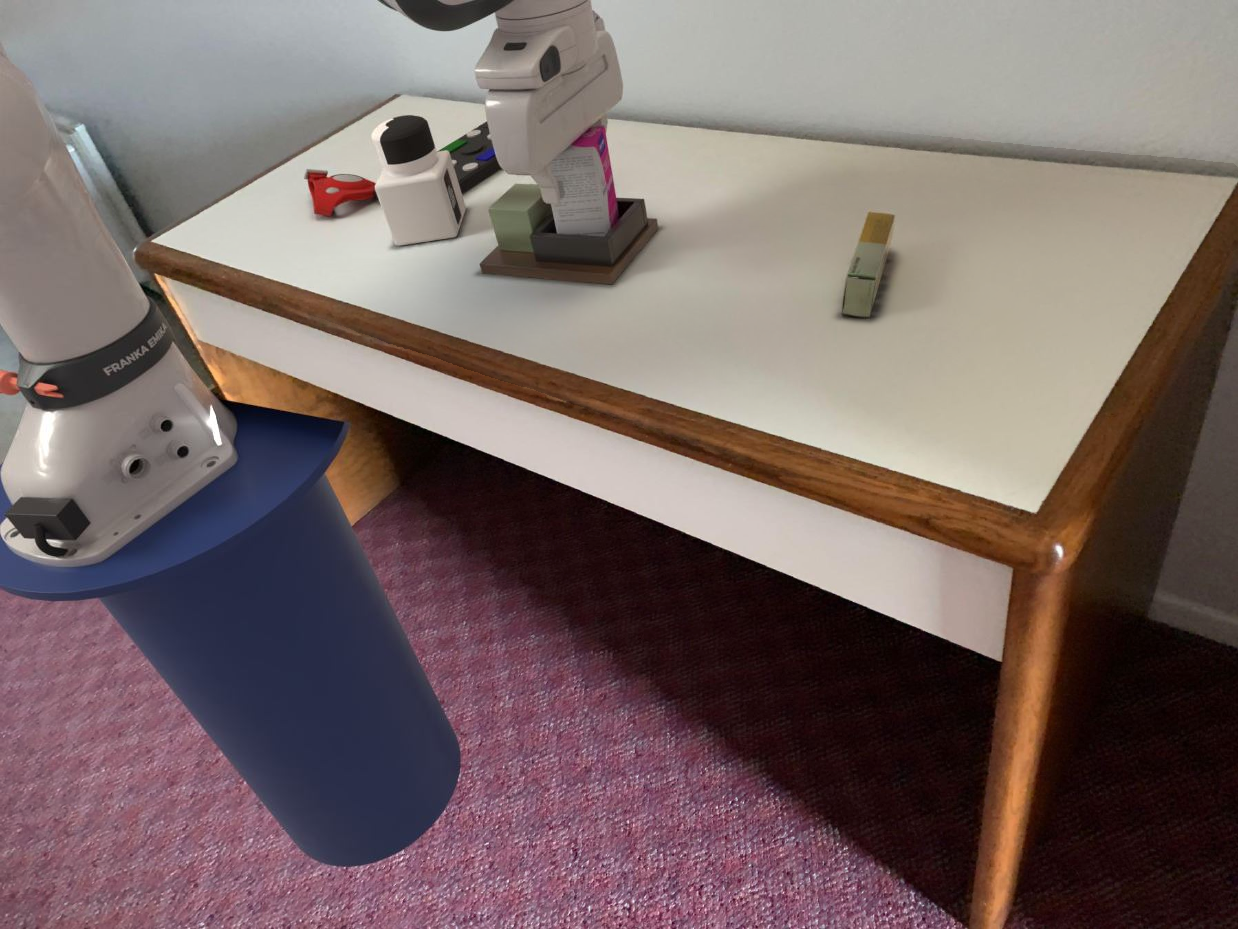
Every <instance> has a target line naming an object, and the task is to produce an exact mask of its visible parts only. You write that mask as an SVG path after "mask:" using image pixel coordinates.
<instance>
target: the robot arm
mask: <svg viewBox="0 0 1238 929" xmlns="http://www.w3.org/2000/svg"><path fill="white" fill-rule="evenodd" d="M377 1H378V2H379V3H381V4H382V5H384V6H385V7H387V8H388V9H390V10H393V11H394V12H397V13H400V14H401V15H402V16H403V17H405V18H407V19H408V20H410V21H411V22H413V23H415V24H416V25H418V26H420V27H422V28H425V29H428V30H431V31H437V32H453V31H457V30H460V29H461V30H462V29H464V28H466V27H468V26H470V25H472V24H475V23H477V22H480V21H481V20H484V19H485V18H487V17H489V16H491V15H493V14H494V16H495V22H496V26H497V28H495V29H494V30H493V33H492V35H491V38H490V40H489V42H488V44H487V46H486V48H485V49H484V51H483V53H482V54H481V56H480V57H479V59H478V60H477V62H476V63H475V65H474V66H475V67H474V76H475V80H476V84H477V86H478V87H479V89H481V90H488V91H487V92H486V95H485V99H484V110H485V111H484V112H485V117H486V121H487V123H488V127H489V131H490V136H491V140H492V144H493V147H494V151H495V154H496V158H497V161H498V163H499V165H500V167H501V169H502V170H503V171H504V172H505V173H506V174H507V175H511V176H528V177H529V176H530V177H531V179H532V180H533V181H534V183H535V184H537V185H538V186H539V187H540V189H541V194H542V198H543V201H544V202H545V203H548V204H557V203H558V202H559V201H560V200H561V199H562V198H563V197H564V196H565V191H564V190H563V188H564V187H563V182H562V181H557V180H556V178H555V177H554V175H553V173H552V171H553V170H554V163H553V160H554V159H555V158H556V157H557V156H558V155H559V154H560V153H562V152H563V151H564V150H565V149H566V148H567V147H568V146H570V145H571V144H572V143H573V142H574V141H575V140H576V139H577V138H579V137H580V136H581V135H582V134H583V133H584V132H585V131H587V130H588V129H589V128H591V127H605V131H606V132H608V124H609V122H608V116H607V113H609V111H611V110H612V109H613V108H615V106H616V105H618V104H619V103H620V102H621V101H622V99H623V94H624V81H623V75H622V71H621V67H620V62H619V58H618V54H617V49H616V46H615V43H614V39H613V37H612V35H611V34H610V32H608V31H607V30H606V26H605V21H604V19H603V17H600V15H599V14H598V13H597V12H596V11H595V10H594V9H593V6H592V0H377ZM0 326H1V328H3V330H4V332H5V333H6V335H7V336H8V338H9V339H10V341H11V342H12V344H13V345H14V347H16V349H17V350H18V363H19V368H18V372H13V371H8V370H4V369H0V394H4V395H6V396H15V395H17V394H19V393H21V395H22V396H23V397H24V398H25V400H26V402H27V404H26V406H25V409H24V412H23V414H22V417H21V420H20V422H19V425H18V427H17V430H16V432H15V435H14V436H13V440H12V442H11V443H10V447H9V450H8V451H7V454H6V456H5V459H4V460H3V462H4V463H3V462H2V463H3V465H2V467H1V480H2V484H3V487H4V489H5V492H6V494H7V496H8V498H9V500H10V502H11V504H12V506H11V507H10V508H9V509H8V510H7V512H6V513H5V514H4V515H5V516H6V517H7V518H6V519H5V520H4V521H3V522H2V524H1V525H0V534H1V537H2V539H3V540H4V542H5V543H6V545H7V546H8V548H9V549H10V550H11V551H13V552H14V553H15V554H17V555H18V556H20V557H22V558H24V559H27V560H30V561H32V562H35V563H39V564H43V565H47V566H53V567H81V566H87V565H92V564H96V563H100V562H102V561H104V560H105V559H107V558H108V557H110V556H111V555H113V554H114V553H115V552H117V551H118V550H119V549H121V548H122V547H124V546H125V545H126V544H128V543H129V542H130V541H132V540H133V539H134V538H136V537H137V536H139V535H140V534H141V533H143V532H144V531H145V530H147V529H148V528H149V527H151V526H152V525H154V524H155V523H156V522H158V521H159V520H160V519H162V518H163V517H164V516H166V515H167V514H168V513H170V512H171V511H173V510H174V509H175V508H177V507H178V506H179V505H181V504H182V503H183V502H185V501H186V500H188V499H189V498H190V497H192V496H193V495H194V494H196V493H197V492H198V491H200V490H201V489H202V488H204V487H205V486H207V485H208V484H209V483H211V482H212V481H213V480H215V479H216V478H217V477H219V476H220V475H222V474H223V473H224V472H226V471H227V470H228V469H230V468H231V467H232V466H233V465H234V464H235V463H236V462H237V460H238V454H237V451H236V449H235V447H234V439H235V435H236V432H237V420H236V417H235V415H234V414H233V413H232V412H231V411H230V410H229V409H228V408H227V407H226V406H225V405H224V404H222V403H221V402H220V401H219V400H218V399H219V398H218V399H217V397H216V395H215V394H214V393H213V392H212V391H211V390H210V389H209V388H208V386H207V385H206V384H205V383H204V381H203V380H202V379H201V378H200V376H199V375H198V374H197V373H196V372H195V370H194V368H192V366H191V365H190V364H189V362H188V361H187V359H186V358H185V356H184V355H183V354H182V352H181V351H180V349H179V348H178V342H177V339H176V336H175V334H174V331H173V330H172V328H171V326H170V325H169V323H168V320H166V317H165V316H164V313H163V312H162V311H161V310H160V308H159V306H158V305H157V303H156V301H155V299H153V298H152V297H150V296H148V295H146V294H145V292H144V290H143V288H142V286H141V285H140V283H139V281H138V279H137V277H136V276H135V274H134V272H133V270H132V269H131V267H130V265H129V263H128V261H126V259H125V257H124V255H123V253H122V251H121V250H120V248H119V246H118V245H117V243H116V241H115V239H114V237H113V236H112V234H111V232H110V230H109V229H108V227H107V224H106V223H105V221H104V219H103V217H102V215H101V214H100V212H99V210H98V207H97V205H96V203H95V201H94V198H93V197H92V195H91V192H90V191H89V189H88V186H87V185H86V183H85V181H84V178H83V177H82V174H81V172H80V171H79V169H78V166H77V164H76V163H75V161H74V159H73V157H72V155H71V152H70V151H69V149H68V147H67V145H66V143H65V141H64V139H63V138H62V136H61V134H60V132H59V130H58V128H57V126H56V124H55V122H54V120H53V119H52V117H51V115H50V113H49V111H48V109H47V108H46V106H45V103H44V102H43V100H42V98H41V96H40V94H39V92H38V91H37V89H36V88H35V86H34V85H33V83H32V82H31V81H30V80H29V78H28V76H26V74H24V73H23V71H22V70H20V69H19V68H18V67H17V66H16V65H15V64H14V63H12V61H10V59H9V57H8V55H7V53H6V50H5V48H4V45H3V41H2V39H1V38H0Z"/></svg>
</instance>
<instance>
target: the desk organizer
mask: <svg viewBox="0 0 1238 929" xmlns="http://www.w3.org/2000/svg"><path fill="white" fill-rule="evenodd" d="M616 199H617V205H618V212H619V218H620V219H619V220H618V221H617V222H616V223H615V225H614V226H613V227H612V228H611V229H610V230H609V231H608V232H607V233H606V235H605V236H604V237H603V236H588V235H572V234H557V230H556V225H555V221H554V216H553V211H552V206H551V204H548V203H545V202H544V201H543V198H542V194H541V189H540V187H539V186H538V185H537V183H514V184H513V185H512V186H511V187H510V188H508V190H506V191H505V192H504V193H502V195H500V197H499V198H497V199H496V200H495V201H494V202H493V203H492V204H491V205H490V206H489V207H488V208H487V210H488V213H489V218H490V221H491V225H492V228H493V231H494V235H495V238H496V242H497V246H496V247H495V248H494V249H493V250H491V252H490V253H488V255H487V256H485V258H484V259H482V260H481V261H480V263H479V267H480V271H481V274H485V275H486V274H487V275H497V276H499V275H500V276H508V277H509V276H510V277H522V278H533V279H542V280H543V279H545V280H556V281H566V282H567V281H568V282H579V283H589V284H591V283H592V284H602V285H613V284H614V283H615V282H616V280H617V279H618V278H619V277H620V276H621V275H622V273H623V272H624V271H625V270H626V269H627V267H628V266H629V265H630V264H631V263H632V261H633V260H634V259H635V258H636V257H637V255H638V254H639V253H640V252H641V250H642V249H643V248H644V247H645V246H646V244H647V243H648V242H649V241H650V239H651V238H652V237H654V235H655V233H656V232H657V231H658V230H659V224H658V218H653V217H652V218H651V217H648V213H647V207H646V202H645V198H635V197H616Z"/></svg>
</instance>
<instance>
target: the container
mask: <svg viewBox="0 0 1238 929" xmlns="http://www.w3.org/2000/svg"><path fill="white" fill-rule="evenodd" d="M370 136H371V140H372V143H373V146H374V148H375V151H376V154H377V157H378V160H379V164H380V166H381V168H382V171H381V173H380V175H379V177H378V179H377V180H376V182H375V183H376V185H375V190H376V193H377V196H378V199H379V201H378V202H379V205H380V208H381V210H382V212H383V216H384V218H385V221H386V224H387V227H388V229H389V232H390V235H391V238H392V240H393V243H394V245H395V246H397V247H400V246H406V245H413V244H419V243H425V242H433V241H438V240H447V239H453V238H456V237H457V236H458V234H459V231H460V228H461V225H462V223H463V222H462V221H463V219H464V216H465V214H466V210H467V208H466V203H465V201H464V197H463V194H462V193H461V190H460V186H459V183H458V180H457V176H456V173H455V169H454V166H453V163H452V159H451V156H450V153H449V151H447V150H445V151H439V150H437V147H436V145H435V141H434V138H433V135H432V131H431V128H430V124H429V122H428V120H427V119H426V118H425V117H422V116H419V115H413V114H405V115H399V116H395V117H391V118H389V119H386V120H384V121H383V122H381V123H380V124H379V125H377V126H376V127H375V128H374V129H373V131H372V133H371V135H370ZM437 151H439V152H437Z"/></svg>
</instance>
